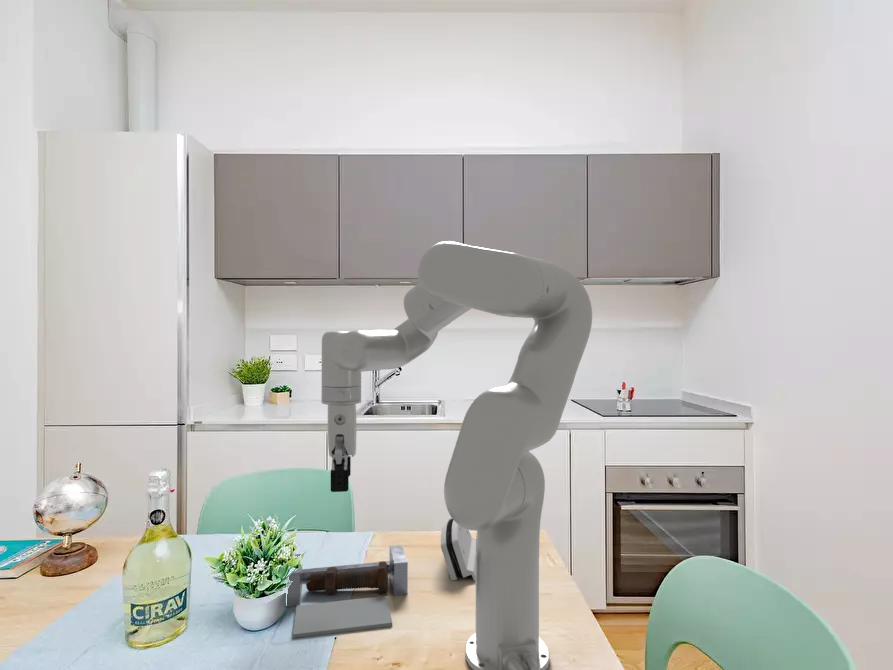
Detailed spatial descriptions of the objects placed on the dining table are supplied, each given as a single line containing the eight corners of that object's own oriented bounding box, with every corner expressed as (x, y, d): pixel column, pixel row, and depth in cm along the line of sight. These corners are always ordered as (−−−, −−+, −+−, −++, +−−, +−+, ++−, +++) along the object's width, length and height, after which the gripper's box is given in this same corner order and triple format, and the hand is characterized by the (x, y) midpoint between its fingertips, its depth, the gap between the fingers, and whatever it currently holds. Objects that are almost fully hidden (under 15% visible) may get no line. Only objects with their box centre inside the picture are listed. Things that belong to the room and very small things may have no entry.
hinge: (476, 581, 102) (459, 533, 102) (453, 588, 102) (437, 540, 103) (480, 547, 119) (465, 505, 119) (460, 553, 119) (446, 511, 119)
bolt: (309, 600, 99) (388, 595, 100) (303, 599, 94) (386, 593, 95) (311, 567, 101) (388, 562, 102) (306, 564, 97) (386, 559, 98)
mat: (392, 626, 87) (392, 622, 87) (292, 638, 83) (292, 634, 83) (386, 598, 95) (386, 595, 95) (296, 608, 92) (296, 605, 92)
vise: (407, 593, 97) (407, 562, 97) (285, 607, 92) (285, 573, 92) (399, 567, 108) (399, 538, 108) (290, 577, 103) (290, 548, 103)
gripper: (360, 400, 92) (359, 497, 92) (361, 389, 109) (361, 470, 109) (316, 401, 91) (316, 498, 91) (325, 390, 108) (325, 472, 108)
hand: (341, 483), depth 100 cm, fingers open, 9 cm apart
